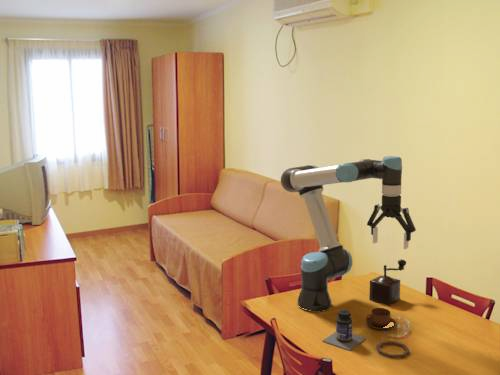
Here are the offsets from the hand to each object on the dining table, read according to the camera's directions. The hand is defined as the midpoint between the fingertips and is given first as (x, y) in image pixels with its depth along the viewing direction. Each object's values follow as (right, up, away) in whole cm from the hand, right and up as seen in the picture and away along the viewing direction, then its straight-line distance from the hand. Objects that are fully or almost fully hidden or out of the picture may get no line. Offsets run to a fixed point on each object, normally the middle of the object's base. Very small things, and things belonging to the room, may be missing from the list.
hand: (390, 245), depth 207 cm
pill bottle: (-21, -35, -13) cm, 43 cm away
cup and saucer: (-4, -33, -1) cm, 33 cm away
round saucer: (-5, -36, -22) cm, 43 cm away
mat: (-21, -35, -13) cm, 43 cm away
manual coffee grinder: (+6, -28, +27) cm, 39 cm away
